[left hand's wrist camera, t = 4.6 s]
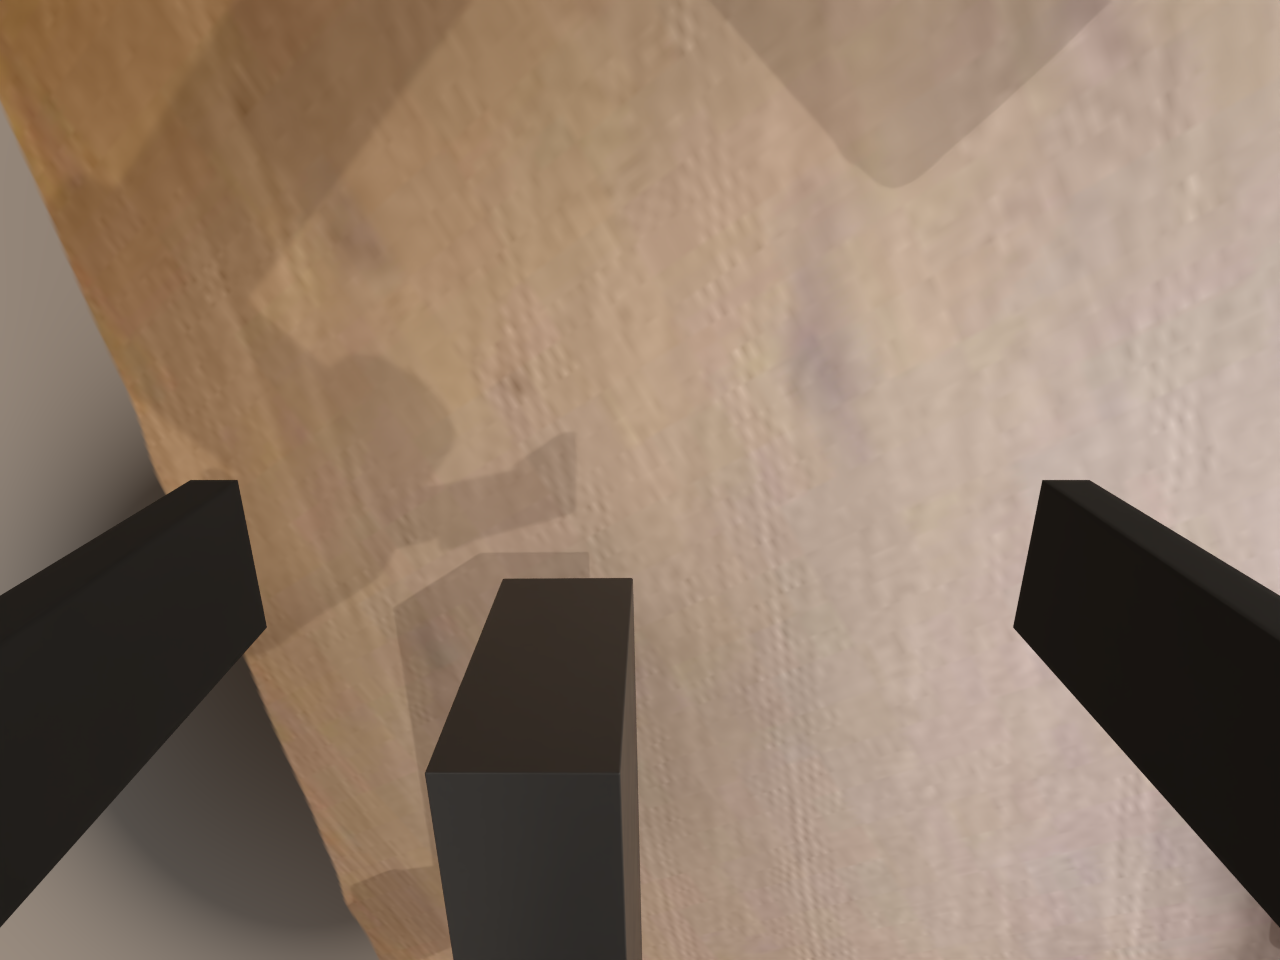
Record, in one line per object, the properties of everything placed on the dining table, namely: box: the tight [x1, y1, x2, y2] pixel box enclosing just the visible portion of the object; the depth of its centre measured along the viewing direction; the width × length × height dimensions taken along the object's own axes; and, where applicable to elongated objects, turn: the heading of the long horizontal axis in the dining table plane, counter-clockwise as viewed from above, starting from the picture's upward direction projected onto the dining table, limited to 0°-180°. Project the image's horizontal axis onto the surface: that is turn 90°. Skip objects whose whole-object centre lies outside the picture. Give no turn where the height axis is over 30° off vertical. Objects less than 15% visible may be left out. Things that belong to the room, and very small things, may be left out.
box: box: [425, 578, 642, 960], centre depth 34 cm, size 26×6×13 cm, turn 1°
